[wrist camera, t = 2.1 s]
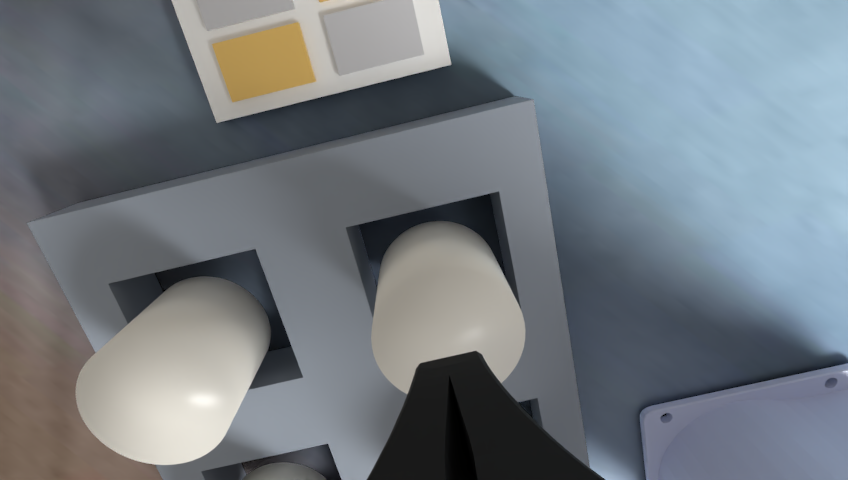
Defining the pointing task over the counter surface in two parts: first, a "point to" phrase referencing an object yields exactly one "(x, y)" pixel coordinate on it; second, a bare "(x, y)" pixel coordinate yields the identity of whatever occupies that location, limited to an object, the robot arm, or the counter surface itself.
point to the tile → (306, 48)
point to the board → (329, 273)
